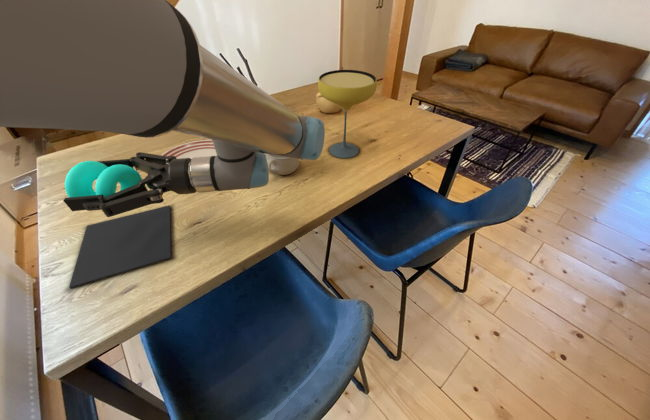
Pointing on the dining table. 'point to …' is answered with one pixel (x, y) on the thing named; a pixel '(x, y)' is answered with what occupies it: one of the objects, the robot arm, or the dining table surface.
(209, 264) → the dining table surface
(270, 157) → the teacup
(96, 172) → the donuts
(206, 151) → the dinner plate
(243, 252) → the dining table surface
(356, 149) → the cocktail glass
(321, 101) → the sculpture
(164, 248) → the placemat
